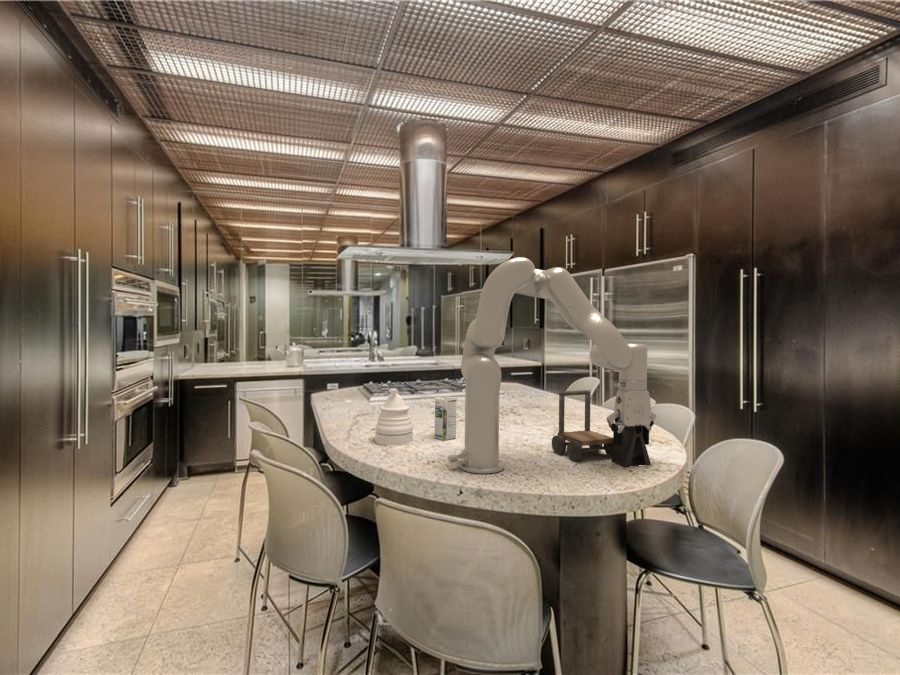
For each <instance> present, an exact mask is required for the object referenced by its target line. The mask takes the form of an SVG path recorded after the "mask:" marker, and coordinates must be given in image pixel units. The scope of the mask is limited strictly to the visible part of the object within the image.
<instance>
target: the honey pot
mask: <svg viewBox="0 0 900 675" xmlns="http://www.w3.org/2000/svg"><path fill="white" fill-rule="evenodd" d="M389 392H390V394H389V396H388V397H386V399H385V401H384V403H383V405H381V406H380V407H379V408H380V414H379V415H378V419H377V423H376V425H375V432H374V433H375V440H374V441H375V444H377V443H378V445H380V444H382V445H381V446H386V445H399V446H404V445H403V444H406V445H408V444H407V443H410V442H412V441H413V442H414V426H413V425H414V424H413V423H412V420H411V419H412V418H411V416H410V414H409V412H408V411H409V410H410V406H409V405H406V403H405V401H404V400H403V398H402V396H401V395H400V394H399V393H398V389H397V388H395V389H394V388H392V389H391V388H390V389H389ZM413 442H412V443H413ZM410 444H411V443H410Z"/></svg>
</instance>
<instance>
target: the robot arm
mask: <svg viewBox="0 0 900 675" xmlns="http://www.w3.org/2000/svg"><path fill="white" fill-rule="evenodd" d="M515 294H518V295H523V296H527V297H531V298H540V299H544V300H546V299H550V301H551V302H552V303H553V305H554V306H555V308H556V309H557V311H558V312H559V314H560V315H561V317H562V318H563V319H564V321H565V322H566V324H568V326H570V327H571V328H572V329H574V330H575V331H577V332H579V333H581V334H583V335H584V336H586V337H587V338H588V339H589V340H590V341H591V342H592V343H593V344H594V345H593V347H591V349H590V352H589V357H590V360H591V362H592V363H593V364H594V365H595V366H597V367H600V368H604V369H610V370H617V371H618V382H616V386H617V387H618V390H617V391H616V395H615V400H614V409H613V412H612V413H611V414H609V415H608V416H607V417H606V421H607V424H608V427H609V428H610V430H611V432H613V434H612V436H613V445H615V446H618V447H622V446H623V433H621V432H622V430H623V428H624V427H625V426H627V427H634V426H635V425H637V426H640V425H642V427H643V431H642V435H643V438H644V442H645V445H646V446H647V445H650V432H651V431H652V427H653V426H654V425H655V420H656V418H657V415H656V414H655V413H654V412H652V407H651V406H652V405H651V397H650V392H649V390H647V387H648V386H647V384H648V383H647V382H648V347H647V345H646V344H644V343H636V342H635V343H629V342H627V341H626V339H625V338H624V337H623V335H622V334H621V332H620V331H619V329H618V328H617V327H616V326H615V325H614V324H613V323H612V322H611V321H610V320H609V319H608V318H606V317H605V316H604V315H603V314H602V313H601V312H600V311H599V310H598V309H596V308H595V307H594V306H593V304H592V303H591V302H590V300H589V299H588V297H587V296H586V294H585V293H584V292H583V290H582V289H581V287H580V286H579V285H578V283H577V282H576V280H575V278H574V277H573V276H572V274H571V273H570V272H569V271H568V270H567V269H566V268H564V267H560V266H559V267H558V266H556V267H555V266H554V267H552V268H548V269H538V268H536V267H535V264H534V263H533V262H532V260H531V259H529V258H527V257H522V256H519V257H517V256H516V257H513V258H511V259H508V260H506V261H504V262H502V263H500V264H499V265H498V266H496V267H495V268H494V269H493V271H492V272H491V273H490V274H489V275H488V276H487V278H486V280H485V281H484V284H483V286H482V290H481V294H480V296H479V303H478V306H477V313H476V316H475V319H473V320H472V321H471V322H470V323H469V326H468V328H467V330H466V334H465V339H464V346H463V351H462V356H461V362H460V363H461V365H460V371H461V374H462V377H463V379H464V380H465V394H464V395H465V396H464V449H461V451H460V453H458V454H449V455H448V456H447V461H448V463H456V464H458V468H460V469H461V470H462V471H464V472H468V473H473V474H483V475H484V474H495V473H499V472H501V471H503V470H504V469H505V463H504V462H503V461H502V460H500V458H499V456H500V453H499V452H500V445H499V444H500V394H501V393H500V392H501V386H502V385H501V383H502V368H501V366H500V364H499V362H498V361H497V360H496V358H495V354H496V353H495V352H496V349H498V347H500V346H501V345H502V344H503V342H504V339H505V335H506V328H507V322H508V314H509V311H510V306H511V302H512V299H513V297H514V295H515ZM639 424H640V425H639Z"/></svg>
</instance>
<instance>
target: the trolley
mask: <svg viewBox="0 0 900 675" xmlns="http://www.w3.org/2000/svg"><path fill="white" fill-rule="evenodd" d="M591 394H592V392H591V390H590V389H584V390H583V389H582V390H580V389H579V390H564V391H561V390H560V391H559V392H558V398H559V399H558V432H557V435H554V436H553V437H552V439H551V448H552V450H553V452H554V453H555V454H557V455H561V454H564V453H567V457H568V458H569V459H570V460H571V461H572V462H577V461H581V460H582V458H583V457H584V456H583V455H584V452H593V451H602V450H603V451H604V452H605V454H606V455H607V456H608V455H609V457H611V458H612V456H613V453H614V450H615V447H616V446H615V445H613V437H611V436H609V435H606V434H603V433H599V432H598V431H592V430H591ZM565 396H584V430H576V431H565V407H566V406H565V405H566V404H565ZM586 446H588V447H586Z"/></svg>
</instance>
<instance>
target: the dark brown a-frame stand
mask: <svg viewBox="0 0 900 675" xmlns="http://www.w3.org/2000/svg"><path fill="white" fill-rule="evenodd" d="M639 425H640V424H639ZM642 431H643V427H642V425H640V426H637V425H635V426H634V427H627V426H625V427H624V428H623V430H622V432H621V433H623V446H622V447H618V446H616V447H615V450H614V453H613V456H612V457H611V463H614V464H616V463H617V464H616V465H618V464H619V465H618V466H621V467H623V466H624V468H625V467H626V468H631V467H630V466H636V467H640V466H639V465H647V466H651V465H652V464H651V460H650V457H649V453H648V449H647V445H646V444H645V442H644V438H643V435H642Z"/></svg>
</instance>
